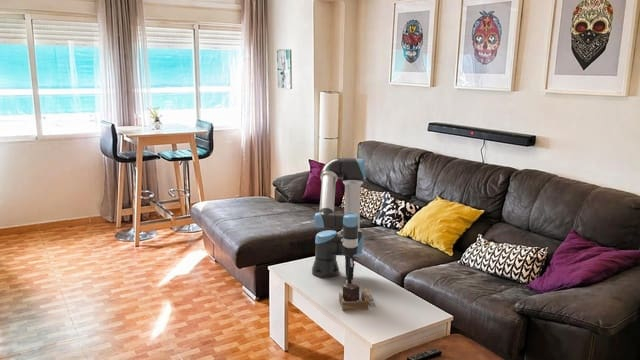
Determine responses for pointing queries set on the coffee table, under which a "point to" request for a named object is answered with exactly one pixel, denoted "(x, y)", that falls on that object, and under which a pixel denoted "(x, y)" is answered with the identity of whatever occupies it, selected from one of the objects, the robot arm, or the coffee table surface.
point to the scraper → (369, 298)
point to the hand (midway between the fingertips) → (348, 291)
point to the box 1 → (351, 292)
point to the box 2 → (354, 303)
